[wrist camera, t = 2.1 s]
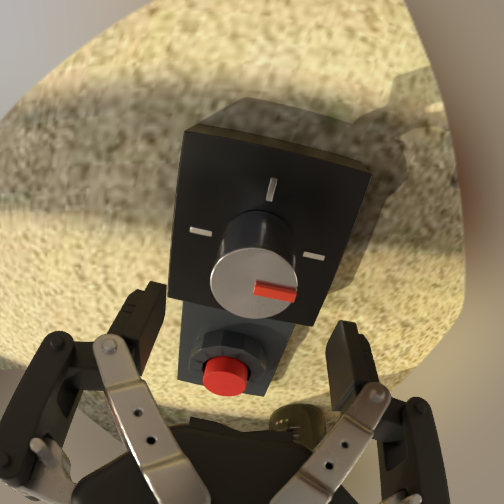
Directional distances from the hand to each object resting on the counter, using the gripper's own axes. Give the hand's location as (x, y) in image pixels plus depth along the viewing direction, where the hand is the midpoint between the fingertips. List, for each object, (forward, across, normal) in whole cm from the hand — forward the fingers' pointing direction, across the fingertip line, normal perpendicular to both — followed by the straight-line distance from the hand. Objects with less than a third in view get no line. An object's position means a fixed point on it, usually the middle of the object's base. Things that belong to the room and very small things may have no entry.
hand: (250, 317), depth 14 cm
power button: (+7, 0, +12) cm, 14 cm away
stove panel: (+10, 0, 0) cm, 10 cm away
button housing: (+10, 0, +12) cm, 16 cm away
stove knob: (+7, 0, 0) cm, 7 cm away
